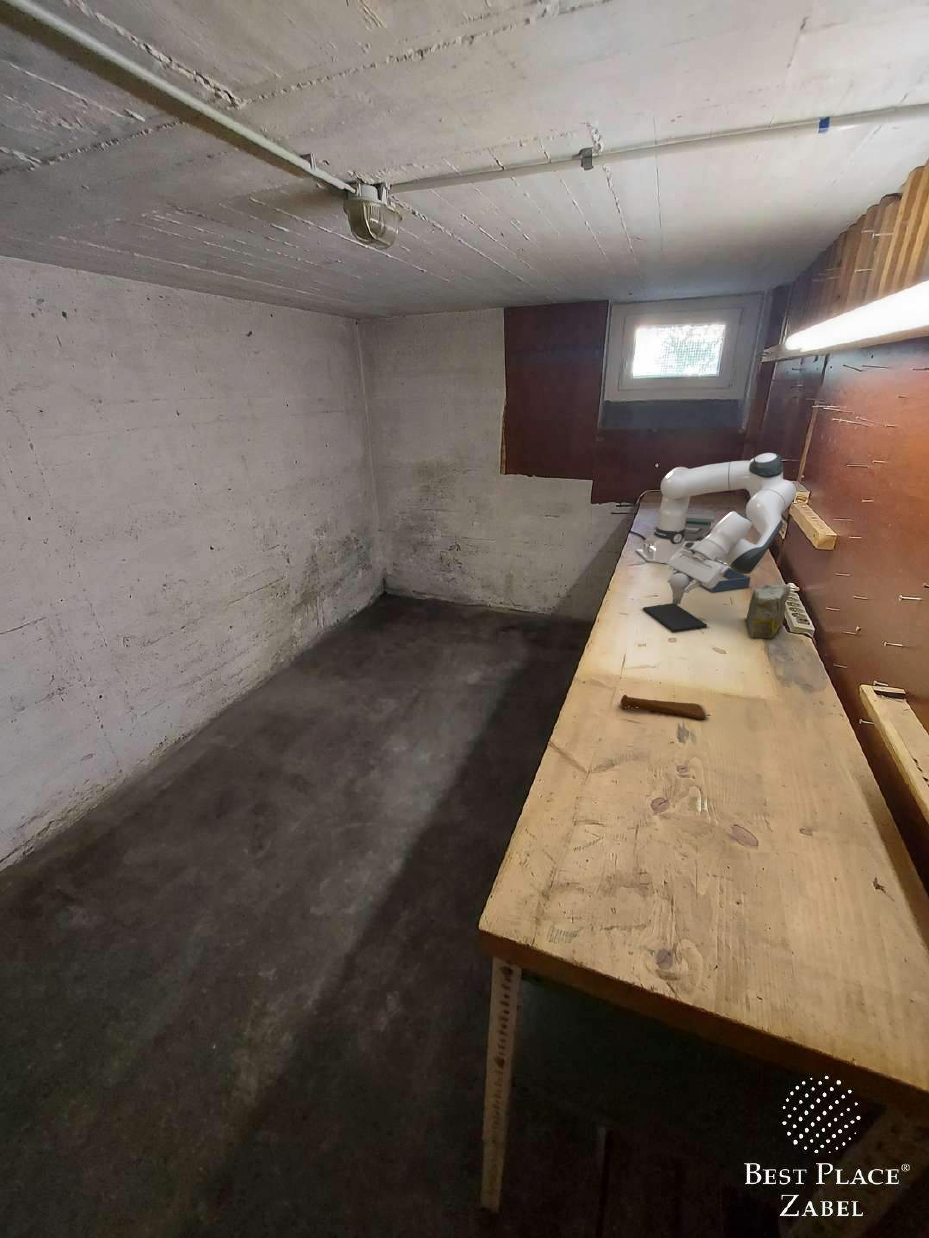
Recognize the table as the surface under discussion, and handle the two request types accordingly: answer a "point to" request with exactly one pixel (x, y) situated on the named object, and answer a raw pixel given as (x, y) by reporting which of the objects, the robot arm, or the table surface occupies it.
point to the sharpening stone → (697, 525)
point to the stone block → (767, 610)
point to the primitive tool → (664, 706)
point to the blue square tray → (730, 582)
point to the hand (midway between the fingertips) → (677, 587)
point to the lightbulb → (678, 586)
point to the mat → (674, 617)
